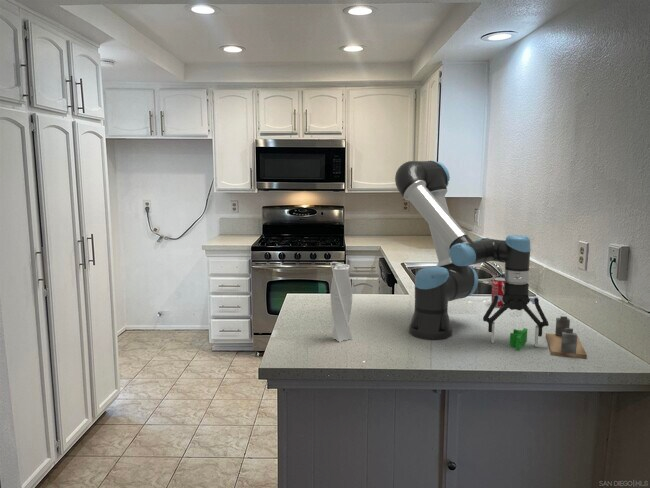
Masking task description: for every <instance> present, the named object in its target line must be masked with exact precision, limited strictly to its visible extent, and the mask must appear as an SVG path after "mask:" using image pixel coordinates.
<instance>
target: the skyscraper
mask: <svg viewBox="0 0 650 488" xmlns="http://www.w3.org/2000/svg"><path fill="white" fill-rule="evenodd" d="M329 264H330V267H331V272H332V274H333V275H332V280H331V285H330V309H331V316H332V321H333V328H332V329H333V330H332V333H331V337H333V338H335V339H336V340H338V341H343V340H347V341H349V340H348V339H352V340H353V337H352V334H351V329H350V326H349V321H350V317H351V314H352V305H353V289H352V282H351V278H350V274H349V272H350V269H351V265H349V264H346V263H342V262H338V261H332V262H330V263H329ZM333 264H335V265H334V267H333ZM336 340H335V341H336ZM338 341H337V342H338ZM343 342H344V341H343Z"/></svg>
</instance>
